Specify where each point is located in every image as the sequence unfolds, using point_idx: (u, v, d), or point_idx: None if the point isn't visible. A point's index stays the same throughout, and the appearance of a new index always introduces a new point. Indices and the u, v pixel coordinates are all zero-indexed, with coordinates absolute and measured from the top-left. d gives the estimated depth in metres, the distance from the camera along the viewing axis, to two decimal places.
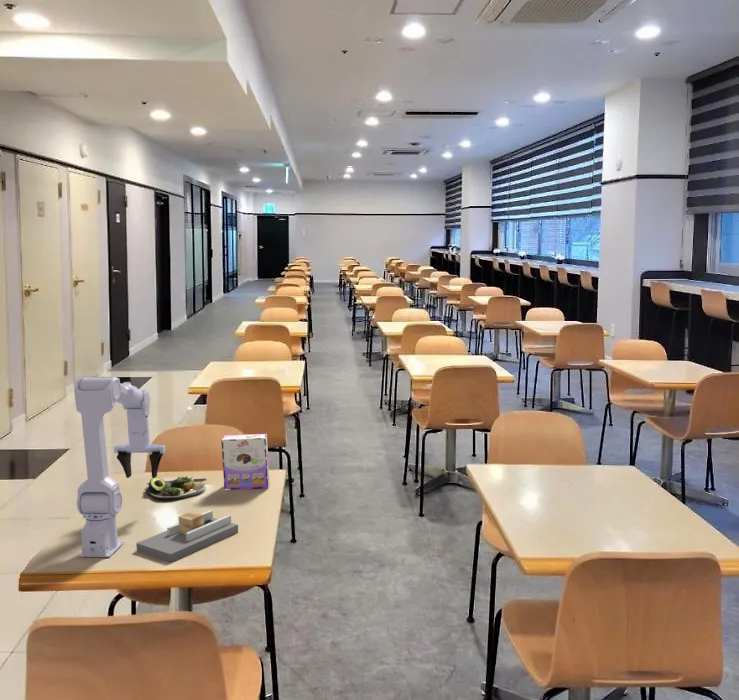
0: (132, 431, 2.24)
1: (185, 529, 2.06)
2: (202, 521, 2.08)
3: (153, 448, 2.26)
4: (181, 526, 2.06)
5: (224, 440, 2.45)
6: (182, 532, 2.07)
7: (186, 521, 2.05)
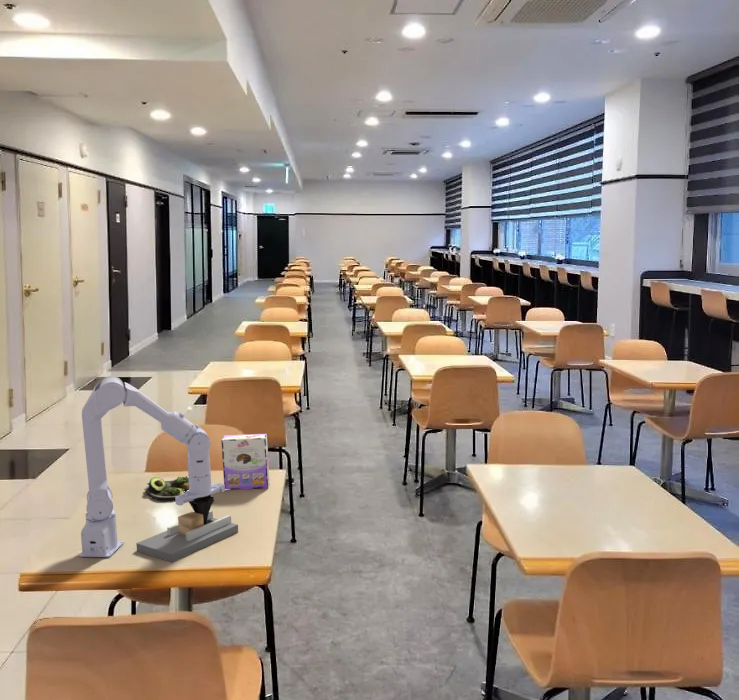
0: None
1: (184, 529, 2.06)
2: (201, 521, 2.07)
3: (218, 488, 2.12)
4: (181, 526, 2.06)
5: (224, 440, 2.45)
6: (182, 532, 2.07)
7: (185, 521, 2.05)
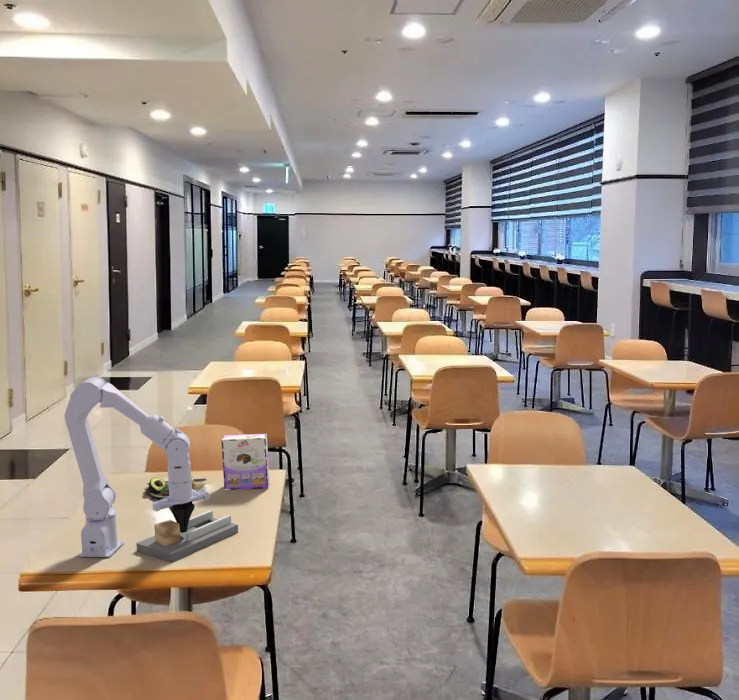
0: None
1: (159, 537, 2.00)
2: (177, 530, 2.01)
3: (200, 495, 2.05)
4: (156, 534, 2.01)
5: (224, 440, 2.45)
6: (157, 540, 2.01)
7: (160, 529, 2.00)
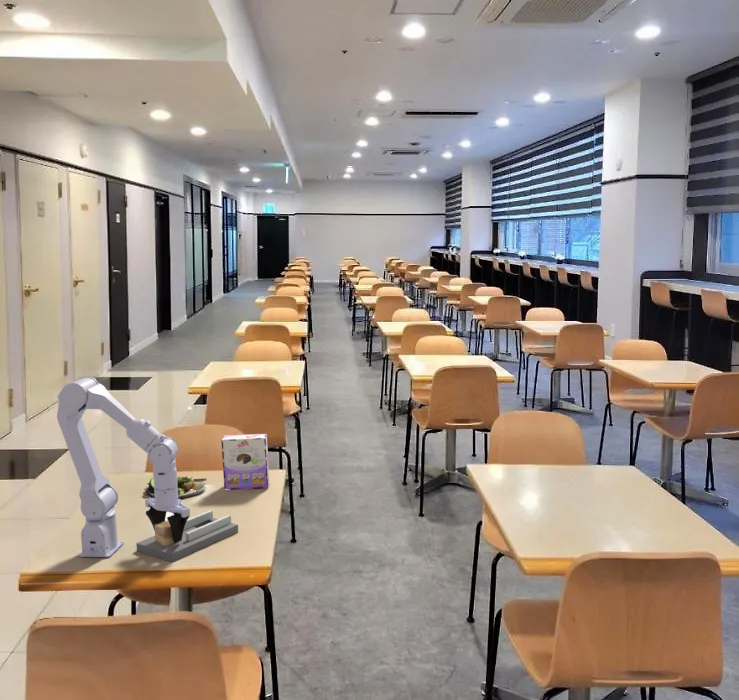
0: None
1: (159, 537, 2.00)
2: None
3: (174, 510, 1.96)
4: (157, 534, 2.01)
5: (224, 440, 2.45)
6: (157, 540, 2.01)
7: (160, 529, 1.99)
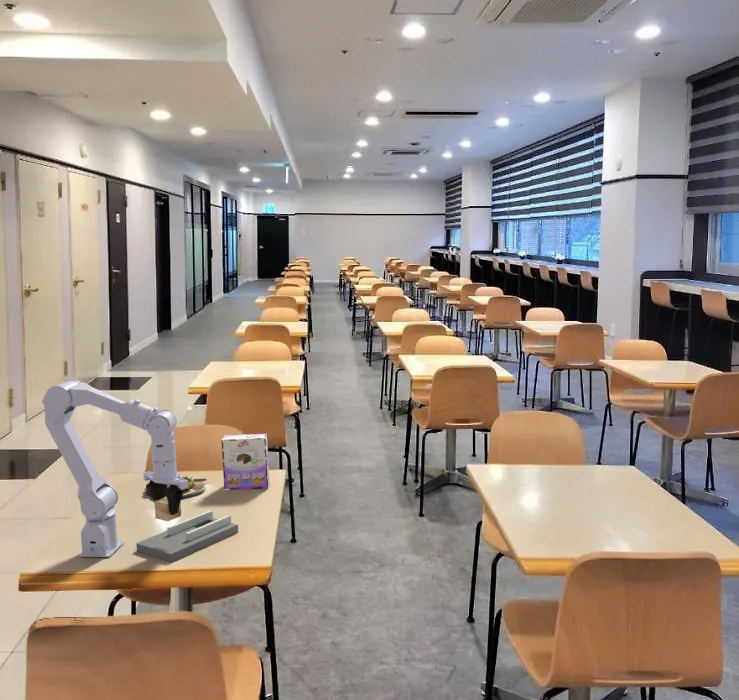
0: None
1: (161, 513, 1.99)
2: (179, 506, 2.01)
3: (173, 482, 1.95)
4: (157, 511, 2.00)
5: (224, 440, 2.45)
6: (158, 517, 2.00)
7: (162, 505, 1.98)
